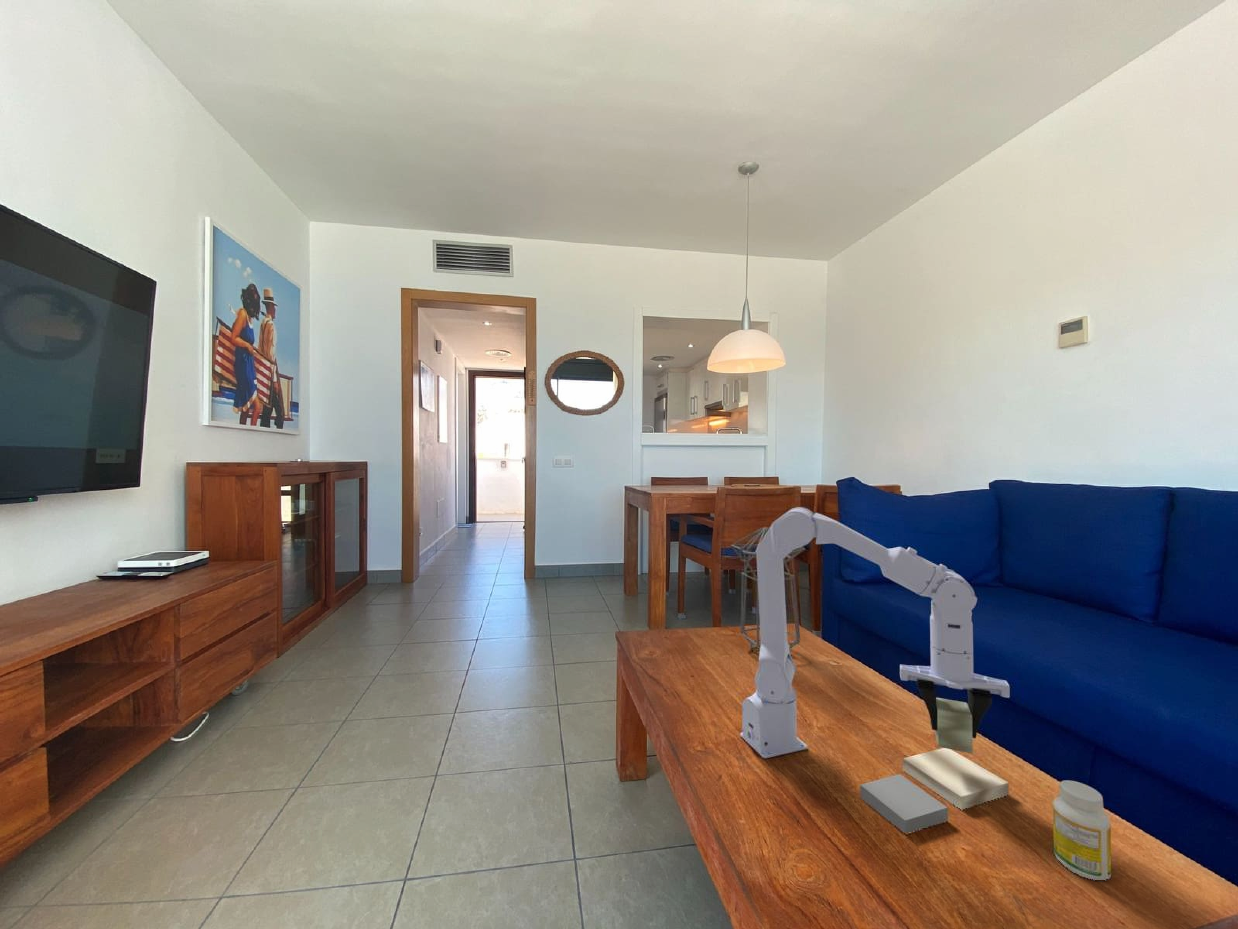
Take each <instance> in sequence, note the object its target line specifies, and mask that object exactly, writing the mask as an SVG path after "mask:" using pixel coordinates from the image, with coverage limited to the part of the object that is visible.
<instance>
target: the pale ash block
mask: <svg viewBox="0 0 1238 929" xmlns="http://www.w3.org/2000/svg"><path fill="white" fill-rule="evenodd" d="M902 771H903V772H905V773H907V775H909V776H911V777H912V778H914V779H915V780H917V781H918V782H920V783H921V784H922V785H924V786H925V787H927V788H928V789H930V790H931V791H933V793H936V794H937V795H938V794H939V797H941V798H943V799H944V800H946V801H947V802H949V803H950V804H951V805H953V804H954V805H955V807H956V808H957V807H958V808H957V809H959V808H960V809H961V810H960V809H959V810H960V811H963V809H964V810H966V809H965V808H967V809H970V808H973V806H974V805H977V804H980V805H982V803H983V804H985V803H984V802H986V803H988V802H987V801H990V802H992V801H991V800H993V801H995V800H994V799H996V800H998V799H997V798H999V797H1002V798H1005V797H1004V796H1006V797H1008V796H1007V795H1010V794H1009V782H1008V781H1007V780H1005V779H1003V778H1001V777H1000V776H997V775H996V774H994V773H992V772H990V771H989V770H987V769H985V768H984V767H982V766H980V765H979V764H977V763H975V762H973V761H972V760H970V759H968V758H966V757H964V756H963V755H962V754H960V753H958V752H956V751H955V750H952V749H947V748H943V747H941V748H937V749H935V750H931V751H927V752H923V753H918V754H915V755H912V756H907V757H904V758H902ZM999 799H1000V798H999ZM954 805H953V806H954ZM977 806H978V805H977ZM974 807H975V806H974Z"/></svg>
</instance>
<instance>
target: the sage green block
mask: <svg viewBox="0 0 1238 929" xmlns="http://www.w3.org/2000/svg"><path fill="white" fill-rule="evenodd" d="M936 716H937V731H936V730H934V735H935V739H936V743H937V746H938V747H939V748H947V749H951V750H953V751H957V752H960V753H961V752H962V753H966V754H972V755H973V753H974V752H973V751H974V749H973V748H974V747H973V744H974V743H973V742H974V741H973V739H974V738H972V714H971V712H970V709H969V704H968V702H964V701H959V700H953V699H948V698H941V697H937V696H936Z"/></svg>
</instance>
